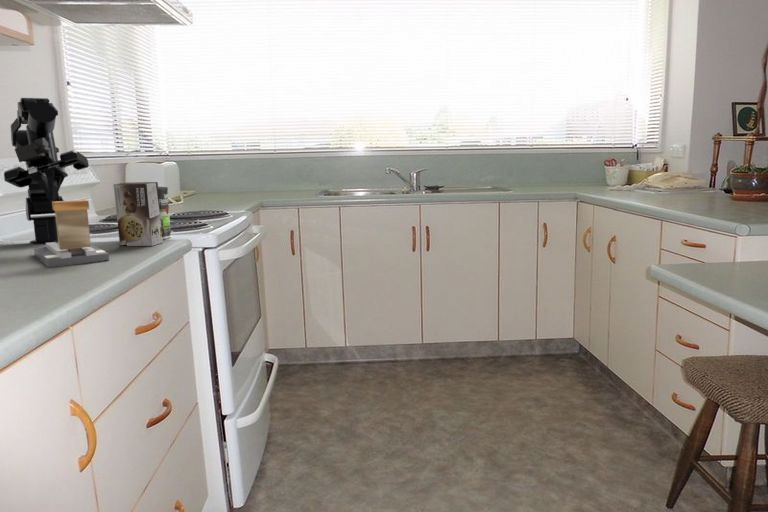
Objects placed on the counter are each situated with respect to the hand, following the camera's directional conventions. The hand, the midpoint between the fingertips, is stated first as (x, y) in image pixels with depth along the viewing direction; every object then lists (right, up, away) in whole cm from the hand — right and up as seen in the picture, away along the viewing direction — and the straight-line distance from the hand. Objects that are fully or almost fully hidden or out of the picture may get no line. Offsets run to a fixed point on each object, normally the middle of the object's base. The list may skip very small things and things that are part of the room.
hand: (52, 200), depth 147 cm
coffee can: (+17, -9, +20) cm, 28 cm away
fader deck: (+9, -14, -9) cm, 19 cm away
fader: (+13, -13, -14) cm, 23 cm away
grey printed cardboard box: (+18, -11, +10) cm, 23 cm away
